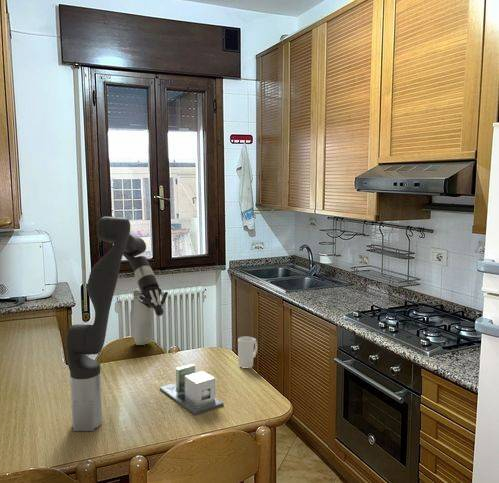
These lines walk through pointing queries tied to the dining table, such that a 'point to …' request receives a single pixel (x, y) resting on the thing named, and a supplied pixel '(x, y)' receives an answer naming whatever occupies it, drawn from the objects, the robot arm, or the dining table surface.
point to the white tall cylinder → (140, 320)
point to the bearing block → (195, 393)
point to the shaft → (180, 379)
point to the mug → (246, 351)
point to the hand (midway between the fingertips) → (160, 314)
